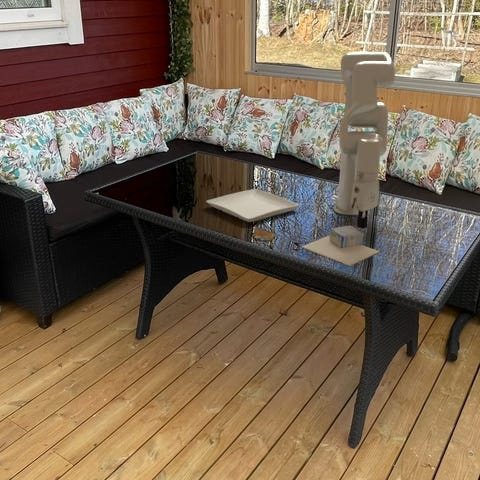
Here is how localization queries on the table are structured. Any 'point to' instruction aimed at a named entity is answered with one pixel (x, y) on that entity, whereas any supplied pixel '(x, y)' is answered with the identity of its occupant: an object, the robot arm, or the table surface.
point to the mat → (340, 251)
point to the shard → (263, 234)
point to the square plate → (252, 204)
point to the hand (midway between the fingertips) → (361, 227)
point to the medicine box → (346, 236)
